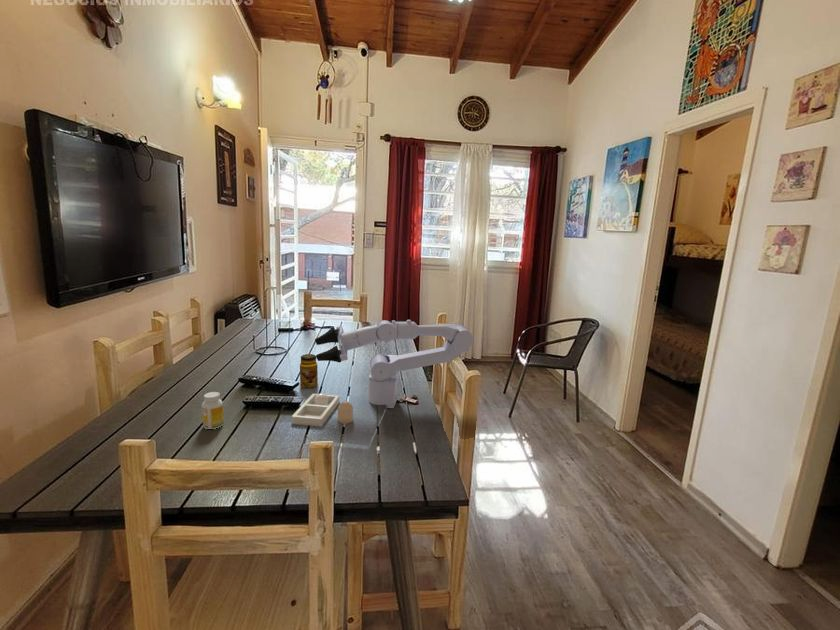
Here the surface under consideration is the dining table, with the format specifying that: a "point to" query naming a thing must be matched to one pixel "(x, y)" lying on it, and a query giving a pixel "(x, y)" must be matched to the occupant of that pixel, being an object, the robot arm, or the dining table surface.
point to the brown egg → (345, 413)
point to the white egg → (321, 399)
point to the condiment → (308, 371)
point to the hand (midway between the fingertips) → (316, 349)
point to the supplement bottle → (212, 411)
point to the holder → (315, 411)
